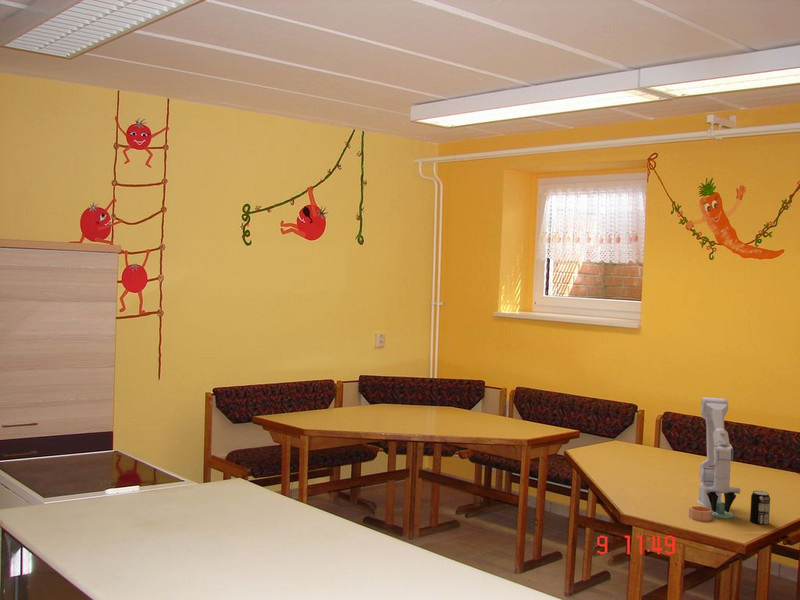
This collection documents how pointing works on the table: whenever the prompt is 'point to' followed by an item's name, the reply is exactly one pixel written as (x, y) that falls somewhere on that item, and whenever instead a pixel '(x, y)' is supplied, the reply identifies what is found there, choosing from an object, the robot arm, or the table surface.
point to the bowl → (700, 513)
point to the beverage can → (760, 507)
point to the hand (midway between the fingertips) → (720, 511)
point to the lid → (722, 512)
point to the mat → (731, 518)
